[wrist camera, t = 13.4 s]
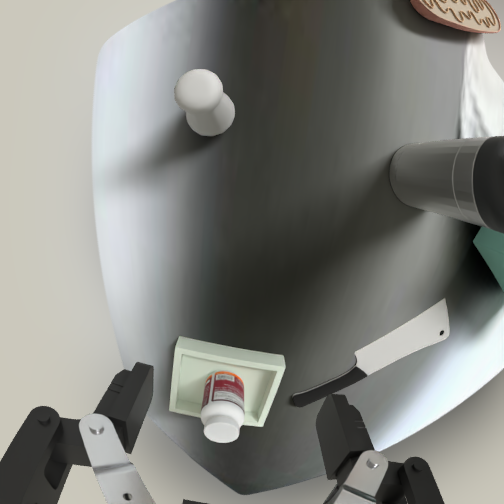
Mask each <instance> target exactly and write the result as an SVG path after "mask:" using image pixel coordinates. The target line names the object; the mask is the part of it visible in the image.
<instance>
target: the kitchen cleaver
mask: <svg viewBox="0 0 504 504" xmlns="http://www.w3.org/2000/svg"><path fill="white" fill-rule="evenodd" d="M442 330H444V333H443V334H442V335H440V332H441V331H442ZM449 332H450V329H449V318H448V311H447V306H446V301H445V298H444V299H443V300H441V301H440V302H438V303H437V304H435V305H434V306H432V307H431V308H429V309H428V310H426V311H425V312H423V313H422V314H420V315H418V316H417V317H415V318H414V319H412V320H410V321H409V322H407V323H406V324H404V325H402V326H401V327H399V328H397V329H396V330H394V331H392V332H390V333H389V334H387V335H385V336H384V337H382V338H380V339H378V340H376V341H375V342H373V343H371V344H369V345H367V346H365V347H364V348H362V349H360V350H358V351H356V352H354V353H355V355H356V358H357V363H356V365H355V366H354V367H353V368H352V369H350V370H349V371H348V372H346V373H344V374H342V375H340V376H338V377H336V378H334V379H332V380H330V381H327V382H325V383H323V384H321V385H318V386H316V387H314V388H311V389H309V390H306V391H303V392H300V393H296V394H293V396H292V399H293V402H294V404H295V405H296V406H297V407H303V406H306V405H308V404H310V403H312V402H315V401H317V400H319V399H321V398H324V397H326V396H328V395H329V394H332V393H335V392H337V391H339V390H341V389H343V388H345V387H348V386H350V385H352V384H354V383H356V382H358V381H360V380H361V379H363V378H365V377H367V375H369V374H371V373H373V372H375V371H377V370H379V369H381V368H383V367H385V366H387V365H389V364H391V363H393V362H394V361H396V360H398V359H400V358H402V357H404V356H406V355H408V354H411V353H413V352H415V351H417V350H420V349H422V348H424V347H427V346H429V345H432V344H435V343H438V342H440V341H443V340H445V339H446V338H447V337H448V336H449Z"/></svg>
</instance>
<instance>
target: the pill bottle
mask: <svg viewBox="0 0 504 504" xmlns="http://www.w3.org/2000/svg"><path fill="white" fill-rule="evenodd" d="M244 412H245V411H244V383H243V380H242V378H241V377H240V376H239V375H238V374H236V373H234V372H232V371H228V370H219V371H215V372H213V373H211V374H210V375H209V376H208V377H207V379H206V382H205V388H204V395H203V401H202V408H201V420H202V422H203V424H204V425H205V426H204V434H205V435H206V437H207V438H209V439H210V440H212V441H215V442H219V443H228V442H232V441H234V440H236V439H237V438H238V436H239V428H240V427H241V426H242V424H243V422H244V416H245V413H244Z"/></svg>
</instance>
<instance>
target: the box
mask: <svg viewBox="0 0 504 504" xmlns="http://www.w3.org/2000/svg"><path fill="white" fill-rule="evenodd" d="M473 243H474V245H475V246H476V247H477V249H478V251H479V252H480V254H481V255H482V257H483V258H484V260H485V261H486V263H487V265H488V266H489V268H490V269H491V271H492V273H493V274H494V276H495V278H496V279H497V281H498V283H499V285H500V286H501V288H502V290H503V292H504V234H503V233H500V232H497V231H494V230H492V229H488V228H485V227H481V229H480V230H479V232H478V234H477V235H476V237H475V239H474V240H473Z"/></svg>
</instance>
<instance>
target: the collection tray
mask: <svg viewBox="0 0 504 504" xmlns="http://www.w3.org/2000/svg"><path fill="white" fill-rule="evenodd" d="M285 368H286V366H285V361H284V356H283V355H277V354H270V353H264V352H258V351H252V350H246V349H240V348H235V347H230V346H224V345H219V344H214V343H209V342H205V341H200V340H195V339H191V338H186V337H182V336H179V338H178V341H177V344H176V346H175V354H174V364H173V373H172V383H171V394H170V406H169V411H172V412H176V413H181V414H185V415H190V416H195V417H200V418H201V408H202V401H203V395H204V388H205V382H206V379H207V377H208V376H209V375H210V374H211V373H213V372H215V371H219V370H228V371H232V372H234V373H236V374H238V375H239V376H240V377H241V378H242V380H243V383H244V411H245V412H244V413H245V416H244V422H243V425H251V426H259V427H263V424H264V422H265V419H266V417H267V415H268V412H269V410H270V407H271V404H272V402H273V399H274V397H275V394H276V392H277V389H278V386H279V384H280V381H281V378H282V376H283V373H284V370H285Z"/></svg>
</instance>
